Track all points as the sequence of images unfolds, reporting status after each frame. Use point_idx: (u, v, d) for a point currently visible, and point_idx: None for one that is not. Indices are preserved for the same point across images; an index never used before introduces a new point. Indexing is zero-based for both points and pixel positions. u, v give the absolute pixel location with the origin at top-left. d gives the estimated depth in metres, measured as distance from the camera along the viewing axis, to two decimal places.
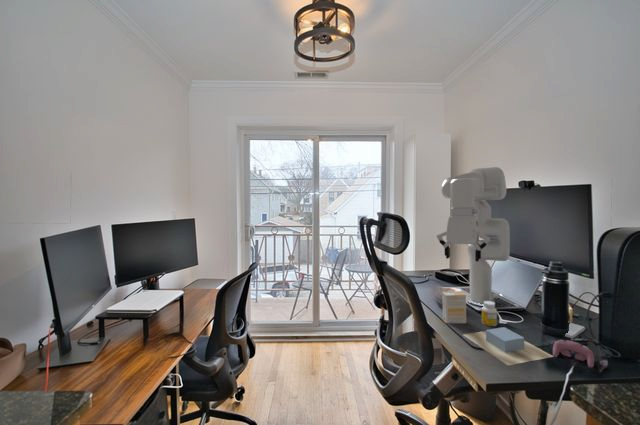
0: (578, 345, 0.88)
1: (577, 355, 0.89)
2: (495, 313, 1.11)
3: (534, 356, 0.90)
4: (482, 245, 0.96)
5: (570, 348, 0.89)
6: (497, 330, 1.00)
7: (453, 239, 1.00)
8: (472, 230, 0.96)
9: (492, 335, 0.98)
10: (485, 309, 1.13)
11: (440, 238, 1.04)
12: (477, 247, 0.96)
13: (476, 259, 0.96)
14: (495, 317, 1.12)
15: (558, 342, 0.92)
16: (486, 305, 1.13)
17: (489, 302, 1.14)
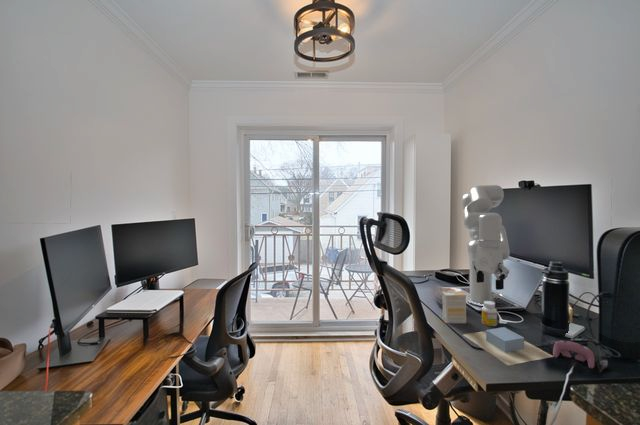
0: (578, 346, 0.88)
1: (577, 356, 0.88)
2: (495, 313, 1.11)
3: (534, 356, 0.90)
4: None
5: (570, 349, 0.89)
6: (497, 330, 1.00)
7: None
8: None
9: (492, 335, 0.98)
10: (485, 309, 1.13)
11: None
12: None
13: None
14: (495, 317, 1.12)
15: (558, 343, 0.91)
16: (486, 305, 1.13)
17: (489, 302, 1.14)
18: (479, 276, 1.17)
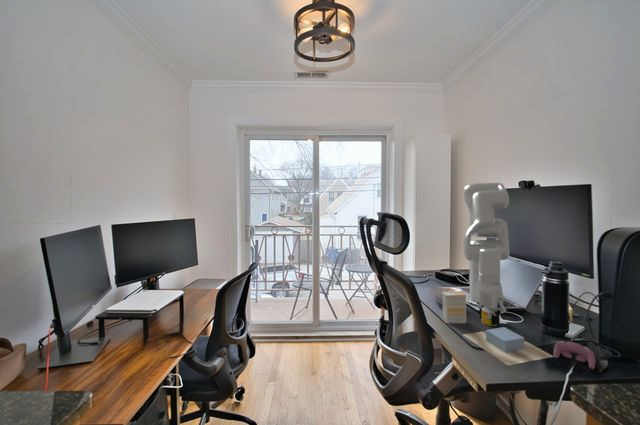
0: (579, 346, 0.88)
1: (578, 356, 0.88)
2: None
3: (534, 356, 0.90)
4: None
5: (571, 349, 0.89)
6: (497, 330, 1.00)
7: None
8: None
9: (492, 335, 0.98)
10: (485, 309, 1.13)
11: None
12: None
13: None
14: None
15: (559, 343, 0.91)
16: None
17: None
18: None
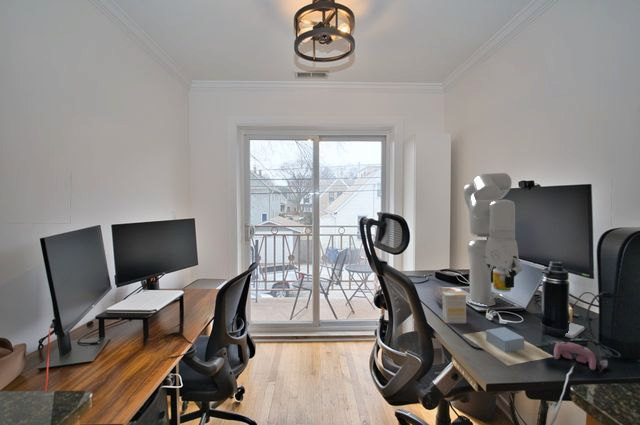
0: (579, 347, 0.87)
1: (578, 357, 0.87)
2: None
3: (534, 356, 0.90)
4: None
5: (571, 350, 0.88)
6: (497, 330, 1.00)
7: None
8: None
9: (492, 335, 0.98)
10: (497, 270, 0.98)
11: None
12: None
13: None
14: None
15: (559, 344, 0.90)
16: None
17: None
18: None
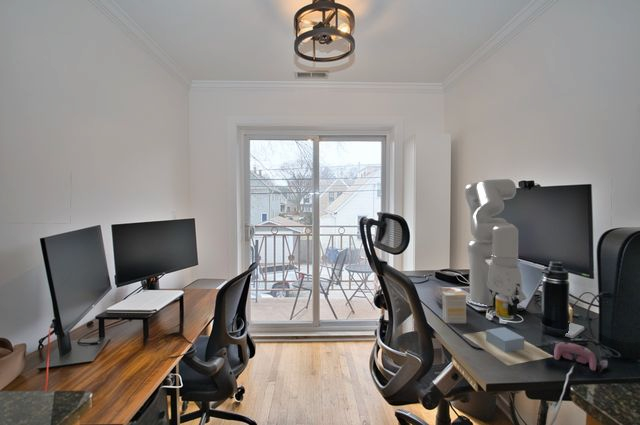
0: (580, 348, 0.87)
1: (579, 358, 0.87)
2: None
3: (534, 356, 0.90)
4: None
5: (572, 351, 0.88)
6: (497, 330, 1.00)
7: None
8: None
9: (492, 335, 0.98)
10: (500, 297, 0.96)
11: None
12: None
13: None
14: None
15: (559, 345, 0.90)
16: None
17: None
18: None
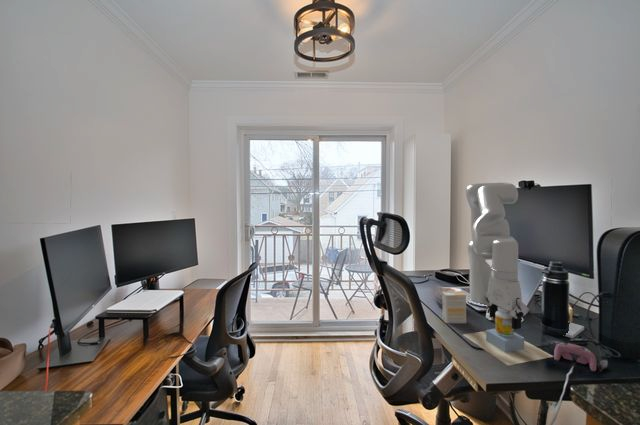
0: (580, 348, 0.87)
1: (579, 358, 0.87)
2: None
3: (534, 356, 0.90)
4: None
5: (572, 351, 0.87)
6: None
7: None
8: None
9: (492, 335, 0.98)
10: (500, 314, 0.96)
11: None
12: None
13: None
14: None
15: (559, 345, 0.90)
16: (501, 310, 0.96)
17: None
18: (493, 310, 1.01)
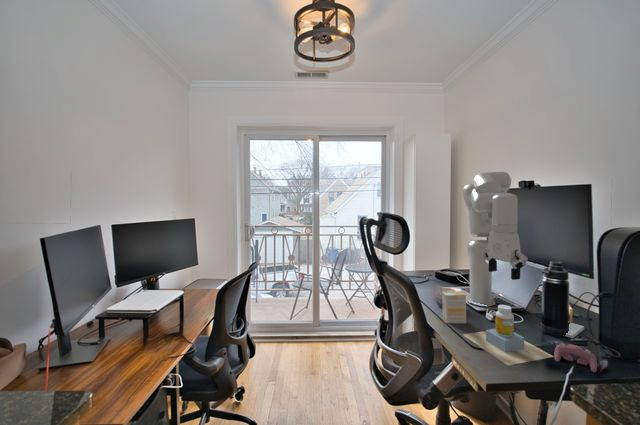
0: (580, 349, 0.86)
1: (579, 359, 0.86)
2: (512, 319, 0.95)
3: (534, 356, 0.90)
4: None
5: (572, 352, 0.87)
6: None
7: None
8: None
9: (492, 335, 0.98)
10: (500, 314, 0.96)
11: None
12: None
13: None
14: (512, 324, 0.95)
15: (560, 346, 0.89)
16: (501, 310, 0.96)
17: (504, 306, 0.97)
18: (491, 264, 1.04)
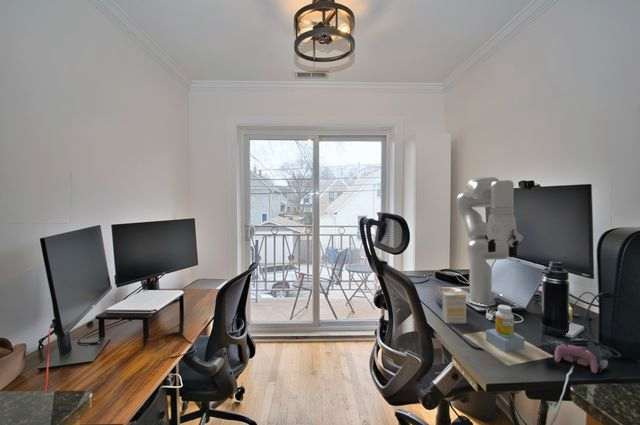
0: (581, 350, 0.86)
1: (580, 360, 0.86)
2: (512, 319, 0.95)
3: (534, 356, 0.90)
4: None
5: (572, 353, 0.87)
6: None
7: None
8: None
9: (492, 335, 0.98)
10: (500, 314, 0.96)
11: None
12: None
13: None
14: (512, 324, 0.95)
15: (560, 347, 0.89)
16: (501, 310, 0.96)
17: (504, 306, 0.97)
18: (491, 245, 1.14)
